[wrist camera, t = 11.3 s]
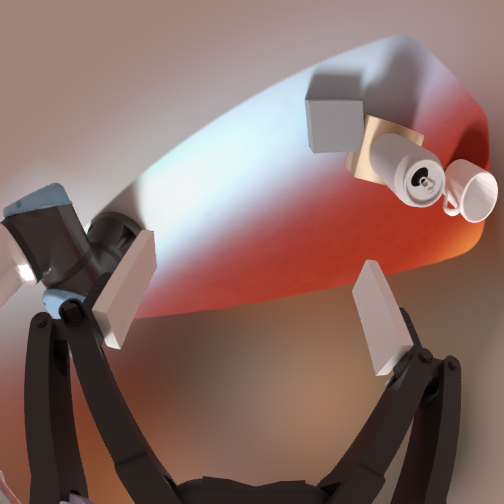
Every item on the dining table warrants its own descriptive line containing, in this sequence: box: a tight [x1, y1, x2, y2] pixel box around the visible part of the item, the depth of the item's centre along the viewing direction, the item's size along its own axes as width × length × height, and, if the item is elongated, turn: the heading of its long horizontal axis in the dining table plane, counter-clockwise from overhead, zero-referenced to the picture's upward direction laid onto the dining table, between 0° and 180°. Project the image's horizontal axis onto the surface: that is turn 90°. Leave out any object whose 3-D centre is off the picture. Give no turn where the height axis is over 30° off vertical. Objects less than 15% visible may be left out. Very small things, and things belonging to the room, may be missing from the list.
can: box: [369, 133, 446, 207], centre depth 30 cm, size 8×8×12 cm
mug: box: [443, 159, 498, 222], centre depth 39 cm, size 13×10×8 cm
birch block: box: [345, 113, 424, 185], centre depth 38 cm, size 10×10×6 cm
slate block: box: [305, 99, 364, 153], centre depth 37 cm, size 8×8×5 cm
